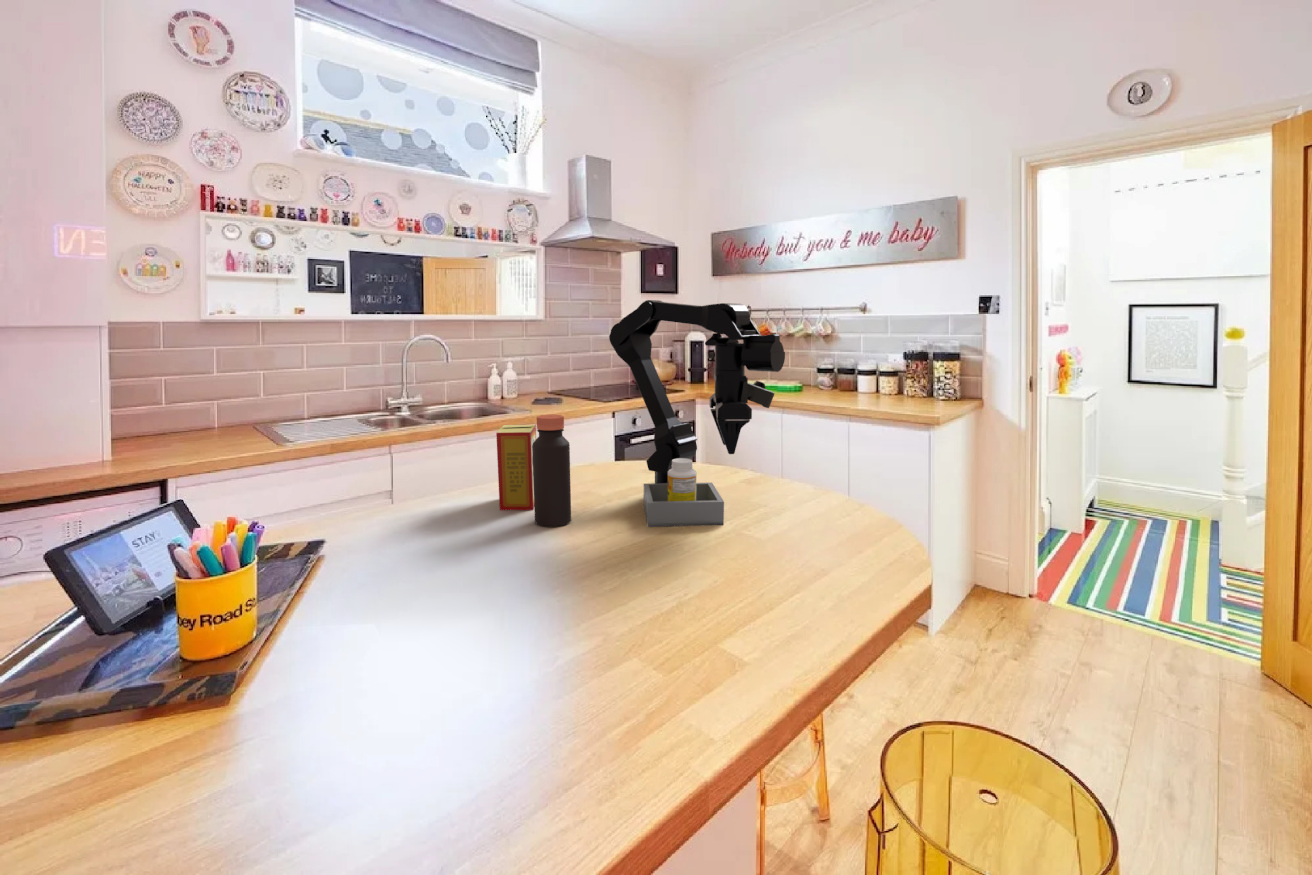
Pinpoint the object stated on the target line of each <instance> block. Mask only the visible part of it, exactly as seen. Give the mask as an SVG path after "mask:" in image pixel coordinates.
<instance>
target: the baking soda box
mask: <svg viewBox="0 0 1312 875" xmlns="http://www.w3.org/2000/svg"><path fill="white" fill-rule="evenodd" d="M495 435H496V456H497V459H496V460H497V473H498V474H497V479H498V500H499V503H498V504H499V511H534V482H533V453H532V445H533V442H534V441H535V440H536V439H537V423H536V424H503V425H502V426H501V428H499V430H497V432H496V434H495Z"/></svg>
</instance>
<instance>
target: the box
mask: <svg viewBox="0 0 1312 875" xmlns="http://www.w3.org/2000/svg"><path fill="white" fill-rule="evenodd" d="M713 483H714V482H696V501H668V483H655V482H654V483H643V508H644V514H645V519H646V526H647V527H648V528H659V527H660V528H661V527H664V528H665V527H666V528H667V527H668V528H669V527H701V526H703V527H704V526H705V527H708V526H713V527H714V526H724V525H725V524H724V520H725V501H724V499H723V498H722V496H721V495H720V494H721V493H719V491H718V489H717V488H716V486H715V485H714V484H713Z"/></svg>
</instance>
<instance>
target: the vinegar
mask: <svg viewBox="0 0 1312 875" xmlns="http://www.w3.org/2000/svg"><path fill="white" fill-rule="evenodd" d="M564 428H565V416H563V414H562V415H561V414H542V415H537V416H536V432H538V436H537V437H536V440H535V441H534V442H533V445H532V453H533V482H534V509H533V512H534V523H535V524H536V525H537V526H540V527H545V528H557V527H563V526H566V525H568V524H570V523H571V521H572V502H571V501H572V497H571V496H572V495H571V494H572V493H571V488H572V487H571V455H570V453H571V451H570V450H571V448H570V442H569V440H568V439H566V438H565V436H563V432H564V431H565V429H564Z"/></svg>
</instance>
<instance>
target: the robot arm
mask: <svg viewBox="0 0 1312 875" xmlns="http://www.w3.org/2000/svg"><path fill="white" fill-rule="evenodd" d="M662 321H663V322H664V321H665V322H672V323H679V324H680V323H681V324H687V325H695V326H699V327H702V328H703V329H705V330H707V331H710V332H712V335H711V336H710V337H709V338H708V339H707V340H706V341H705V342H704V345H705V346H710V347H711V346H713V347H714V374H713V380H714V393H713V394H711V395H710V396H709V408H710V413H711V415H712V417H713V420H714V423H715V425H716V429H717V431H718V434H719V436H720V439H721V442H722V444H723V446H725V447H726V451H727V453H728V454H729V455H734V454H735V452H736V450H737V445H738V441H739V438H740V434H741V430H742V428H743V427H744V426H746V425H747V424H748V423H749V422H750V421H751V420H752V419H753V418H752V417H753V416H752V415H753V410H752V407H750V405H748V401H750V402H752V403H755V404H758V405H761V406H762V407H764V408H766V409H770V407H771V404H772V401H773V399H774V396H775V392H773V391H772V390H769V389H766V384H765V382H762V381H760V380H755V382H754V383H750V382H749V380H748V379H749V378H748V377H747V375H746V374H745V373H746V372H745V368H746V369H747V370H748V371H751V372H752V371H753V372H769V373H770V372H772V373H773V372H774V373H779V372H780V371H781V370H782V369H783V366H784V365H785V364H784V363H785V359H786V352H785V351H784V345H783V344H782V342H781V340H780V339H781V338H780V337H781V336H780V334H765V335H762V334H761V333H760V330H758V328H757V327H756V325H755V323H754V322H753V321H752V318H751V314H750V311H749V309H748V308H747V306H746V305H744V304H742V303H728V302H727V303H711V304H705V305H695V304H684V303H675V302H668V301H667V302H666V301H663V300H658V299H657V300H656V299H649V300H648V299H647V300H645V301H642V302H641V303H640V305H638V307H637V308H636V309H635V310H633V311H632V312H630V313H628V314H627V315H626V316H624V317H623V318H621V320H620V321H619V322H617V323H616V324H614V325H613V326H612V327H611V329H610V333H609V335H608V339H609V342H610V344H611V347H612V348H613V350H614V352H615V353H616V355H617V356H618V358H620V359H621V360H622V361H623V362H624V363H625V364H627V365H628V367H629V368H630V372H631V374H632V375H633V378H634V381H635V382H636V385H637V387H638V390H639V393H640V394H641V397H642V400H643V402H644V405H645V407H646V409H647V411H648V414H649V416H650V419H651V421H652V424H653V427H654V437H653V444H654V446H655V451H654V452H653V453H652V454H651V456H648V458H647V460H646V462H645V463H646V465H647V468H648V471H650V472H654V483H668V471H669V470H670V469H672V466H671V465H672V460H673V459H677V458H687V459H691V460H693V458H694V457H695V456H696V452H697V450H698V445H697V442H696V441H698V438H697V437H696V436H695V434H694V432H693V428H692V425H691V423H690V422H685V423H682V422H681V421H680V420H679V419H678V418H677V416H676V413H675V412H674V409H673V407H672V405H671V402H670V400H669V397H668V395H667V393H666V391H665V387H664V386H663V383H662V380H661V379H660V376H659V373H658V372H657V369H656V366H655V364H654V363H653V359H652V357H651V356H652V348H653V344H652V340H651V337H652V335H654V334H655V333H656V331H657V329H658V327H659V324H660V323H661V322H662ZM723 335H725V336H723ZM739 341H742V342H739Z"/></svg>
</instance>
